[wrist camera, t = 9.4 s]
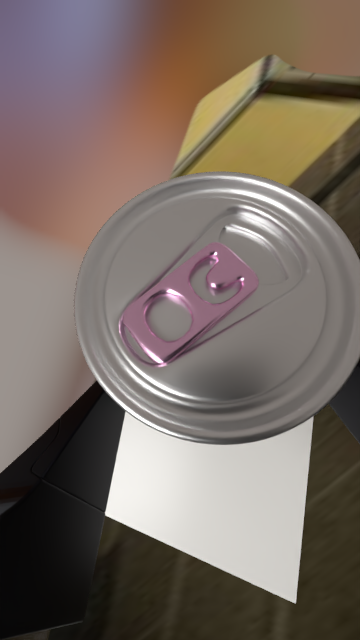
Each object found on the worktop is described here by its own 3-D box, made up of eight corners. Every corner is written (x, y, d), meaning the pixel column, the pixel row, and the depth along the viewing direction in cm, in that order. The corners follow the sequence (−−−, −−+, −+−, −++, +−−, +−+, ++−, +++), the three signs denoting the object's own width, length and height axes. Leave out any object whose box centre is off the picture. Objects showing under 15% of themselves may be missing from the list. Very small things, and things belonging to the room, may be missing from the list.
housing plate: (287, 583, 14) (319, 663, 10) (98, 497, 16) (71, 537, 13) (313, 332, 18) (342, 325, 14) (160, 297, 21) (152, 285, 17)
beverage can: (160, 340, 18) (16, 270, 4) (201, 307, 19) (220, 124, 4) (194, 385, 17) (187, 564, 2) (238, 348, 17) (471, 295, 3)
